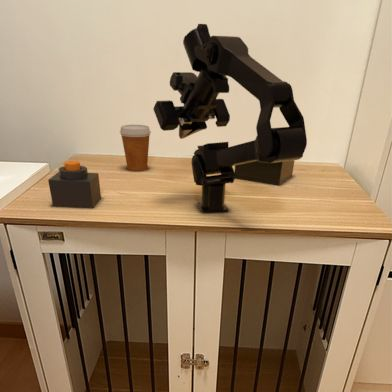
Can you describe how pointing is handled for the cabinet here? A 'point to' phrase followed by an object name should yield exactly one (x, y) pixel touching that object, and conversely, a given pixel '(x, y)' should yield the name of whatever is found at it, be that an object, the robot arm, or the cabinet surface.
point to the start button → (72, 165)
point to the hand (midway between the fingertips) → (180, 137)
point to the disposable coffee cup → (136, 146)
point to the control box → (75, 188)
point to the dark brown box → (265, 172)
